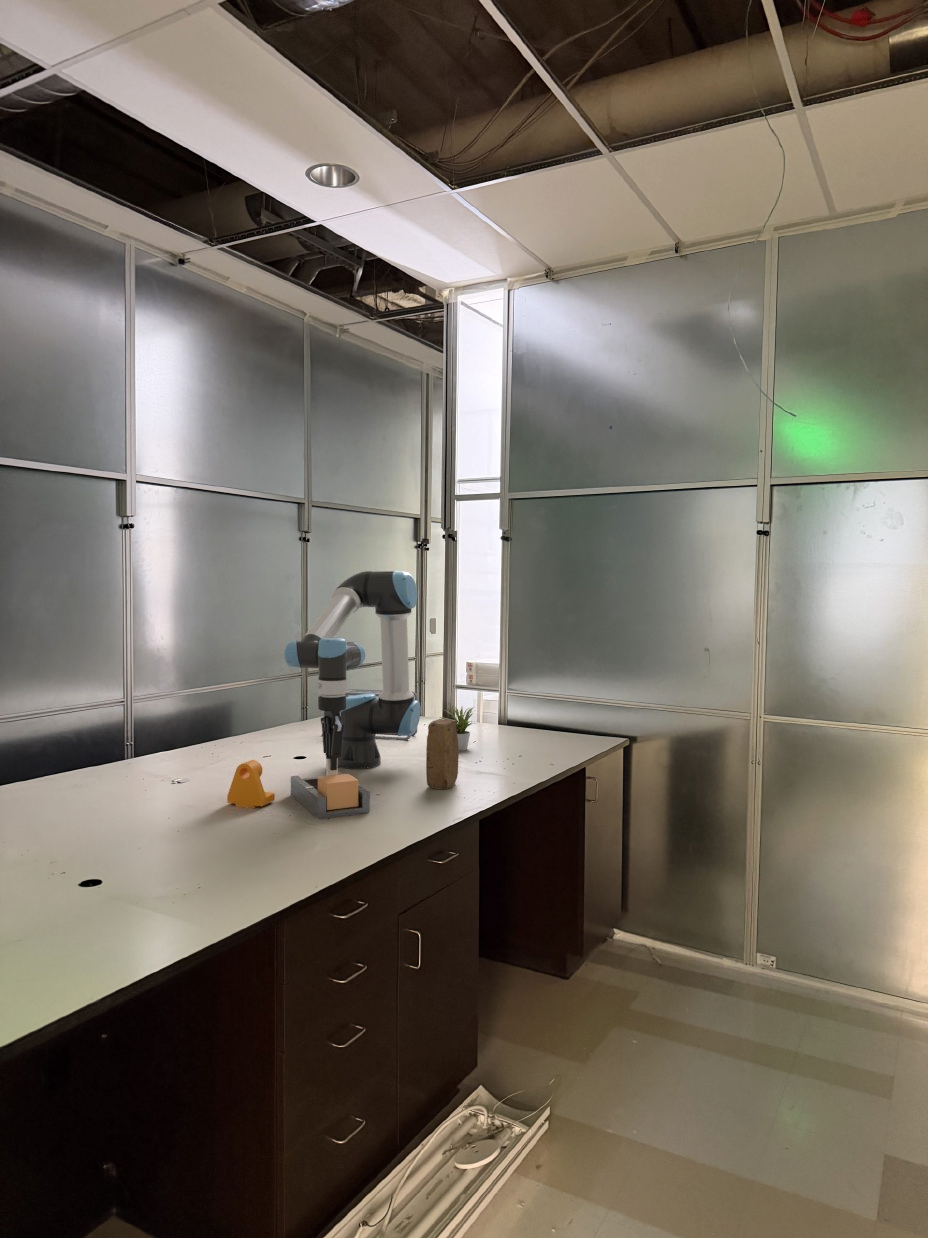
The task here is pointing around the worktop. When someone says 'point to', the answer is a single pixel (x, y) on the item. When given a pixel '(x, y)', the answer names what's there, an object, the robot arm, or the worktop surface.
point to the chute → (324, 799)
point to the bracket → (249, 787)
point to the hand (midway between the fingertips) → (331, 781)
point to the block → (442, 754)
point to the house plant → (462, 727)
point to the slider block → (339, 791)
